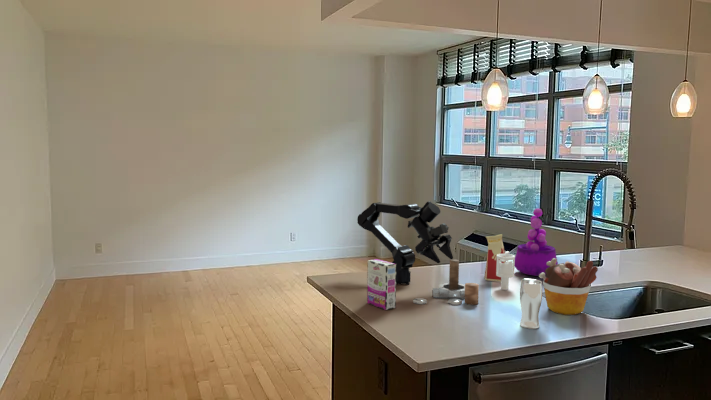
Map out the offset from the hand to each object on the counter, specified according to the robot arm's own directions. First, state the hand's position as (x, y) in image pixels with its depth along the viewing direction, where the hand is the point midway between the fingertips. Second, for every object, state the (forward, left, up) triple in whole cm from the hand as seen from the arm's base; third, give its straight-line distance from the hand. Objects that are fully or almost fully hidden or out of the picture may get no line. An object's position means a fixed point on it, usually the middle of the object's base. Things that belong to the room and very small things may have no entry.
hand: (446, 260), depth 220 cm
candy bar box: (-24, -20, -13) cm, 34 cm away
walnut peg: (+3, -2, -12) cm, 13 cm away
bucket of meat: (+42, -17, -13) cm, 47 cm away
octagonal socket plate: (+3, -2, -13) cm, 13 cm away
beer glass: (+26, -35, -13) cm, 46 cm away
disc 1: (-10, -14, -13) cm, 22 cm away
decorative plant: (+41, +35, -13) cm, 55 cm away
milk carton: (+22, +25, -13) cm, 36 cm away
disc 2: (+3, -13, -13) cm, 19 cm away
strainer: (+24, +9, -13) cm, 29 cm away
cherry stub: (+9, -12, -13) cm, 20 cm away
